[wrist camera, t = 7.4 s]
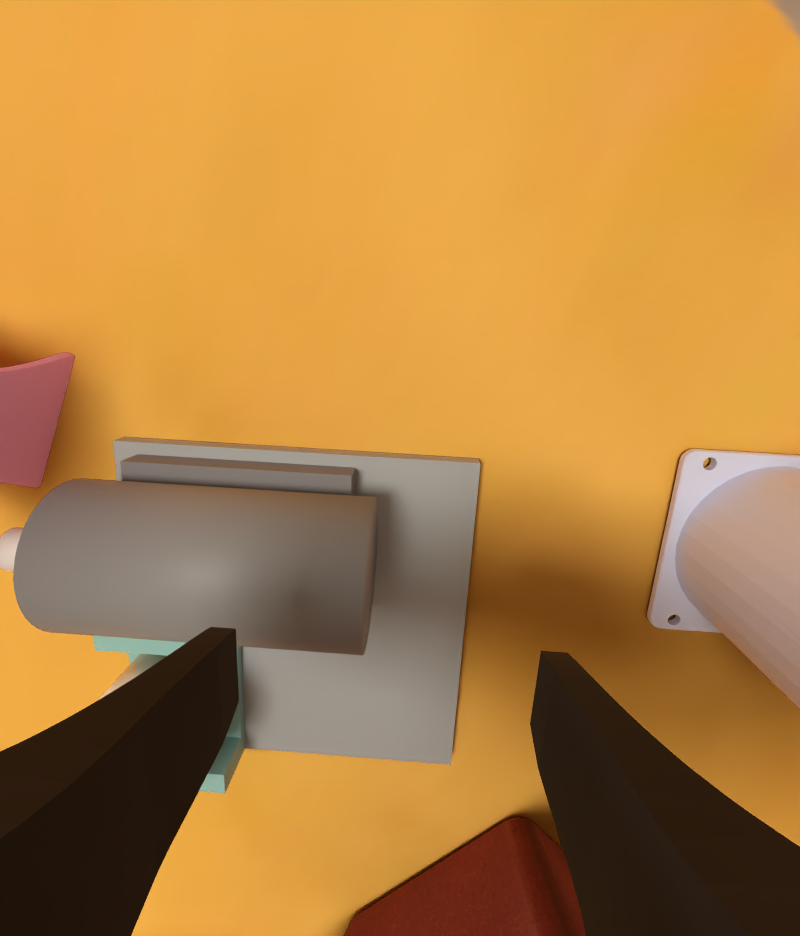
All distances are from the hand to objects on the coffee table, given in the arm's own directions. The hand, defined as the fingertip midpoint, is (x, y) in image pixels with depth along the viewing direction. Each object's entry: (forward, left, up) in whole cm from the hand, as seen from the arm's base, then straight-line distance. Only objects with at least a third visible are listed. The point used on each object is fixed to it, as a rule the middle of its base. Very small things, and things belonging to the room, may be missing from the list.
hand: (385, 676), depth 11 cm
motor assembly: (+6, +4, -10) cm, 12 cm away
